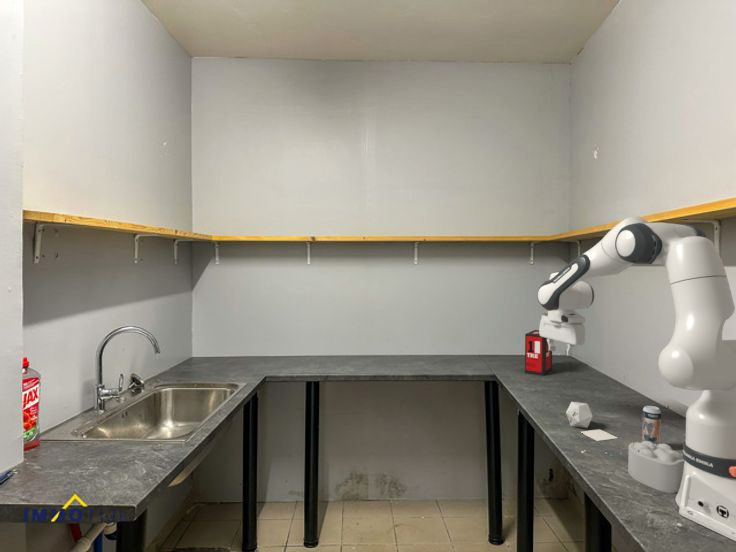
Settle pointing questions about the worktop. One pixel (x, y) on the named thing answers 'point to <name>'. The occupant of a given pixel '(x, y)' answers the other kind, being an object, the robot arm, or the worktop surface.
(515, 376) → the worktop surface
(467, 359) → the worktop surface
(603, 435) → the pad
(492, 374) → the worktop surface
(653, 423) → the beer can
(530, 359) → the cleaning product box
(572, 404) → the die
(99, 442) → the worktop surface
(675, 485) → the lumpy-topped squat cylinder
